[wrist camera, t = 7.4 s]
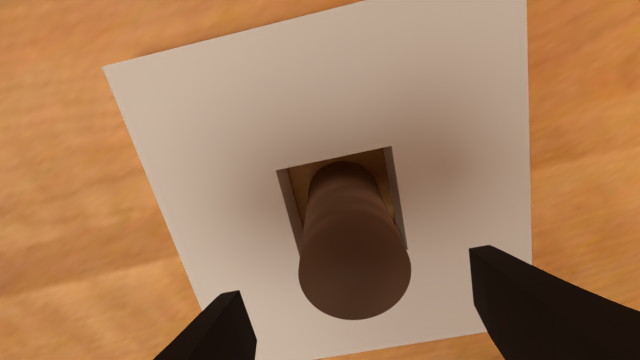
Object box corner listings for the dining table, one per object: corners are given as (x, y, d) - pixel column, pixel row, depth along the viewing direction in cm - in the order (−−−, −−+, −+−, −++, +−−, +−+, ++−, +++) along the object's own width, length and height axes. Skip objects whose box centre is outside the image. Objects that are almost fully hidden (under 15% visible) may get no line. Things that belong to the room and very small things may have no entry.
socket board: (488, -20, 15) (525, -41, 13) (504, 290, 21) (533, 324, 18) (139, 67, 17) (101, 66, 14) (240, 335, 22) (227, 373, 20)
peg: (375, 158, 18) (411, 219, 11) (377, 222, 20) (411, 317, 12) (305, 164, 18) (292, 227, 11) (312, 226, 20) (304, 323, 12)
